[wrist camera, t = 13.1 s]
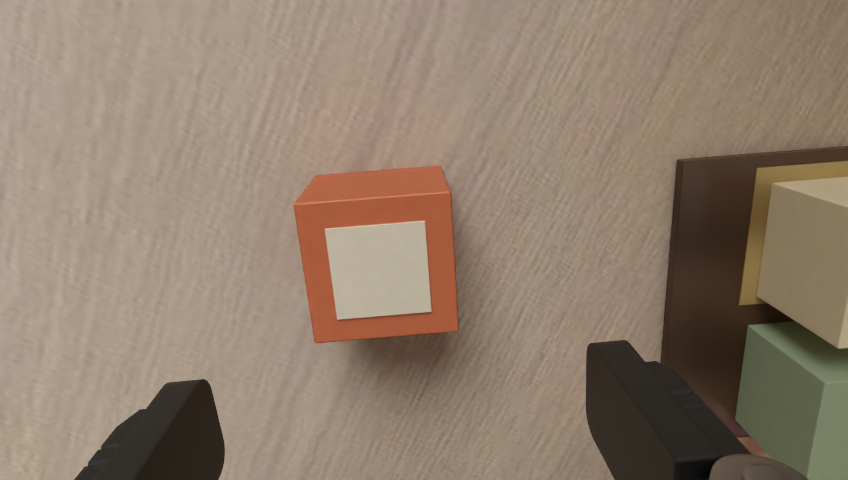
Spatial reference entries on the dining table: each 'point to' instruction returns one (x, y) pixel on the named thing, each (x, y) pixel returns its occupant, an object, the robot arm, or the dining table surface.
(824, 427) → the green letter block
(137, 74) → the dining table surface
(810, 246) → the cream cube with slot
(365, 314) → the orange cube with label
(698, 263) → the word board
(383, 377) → the dining table surface
